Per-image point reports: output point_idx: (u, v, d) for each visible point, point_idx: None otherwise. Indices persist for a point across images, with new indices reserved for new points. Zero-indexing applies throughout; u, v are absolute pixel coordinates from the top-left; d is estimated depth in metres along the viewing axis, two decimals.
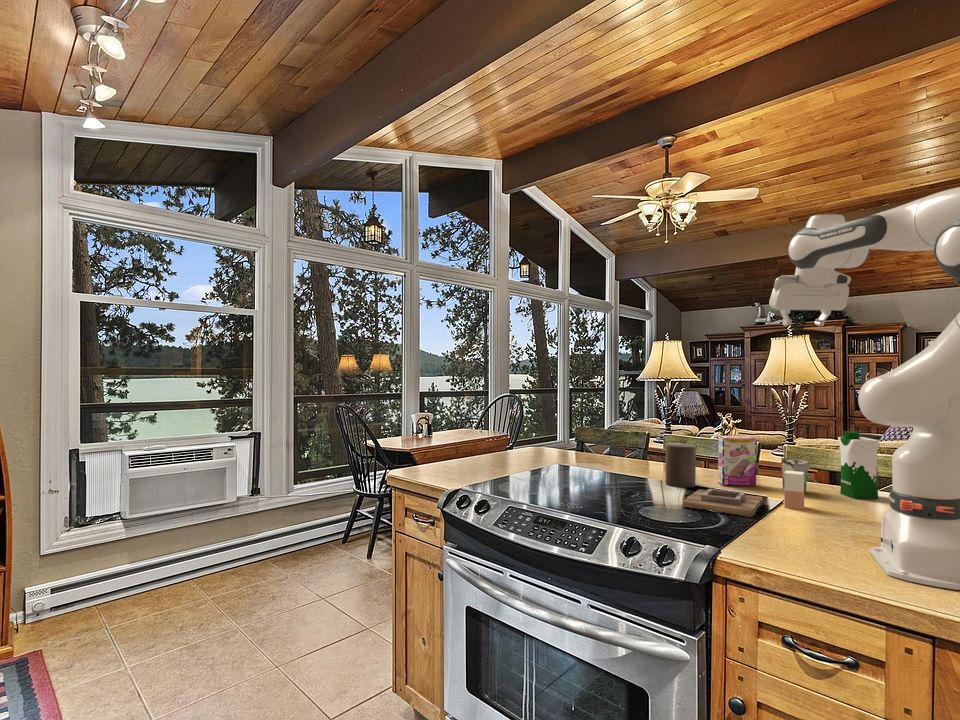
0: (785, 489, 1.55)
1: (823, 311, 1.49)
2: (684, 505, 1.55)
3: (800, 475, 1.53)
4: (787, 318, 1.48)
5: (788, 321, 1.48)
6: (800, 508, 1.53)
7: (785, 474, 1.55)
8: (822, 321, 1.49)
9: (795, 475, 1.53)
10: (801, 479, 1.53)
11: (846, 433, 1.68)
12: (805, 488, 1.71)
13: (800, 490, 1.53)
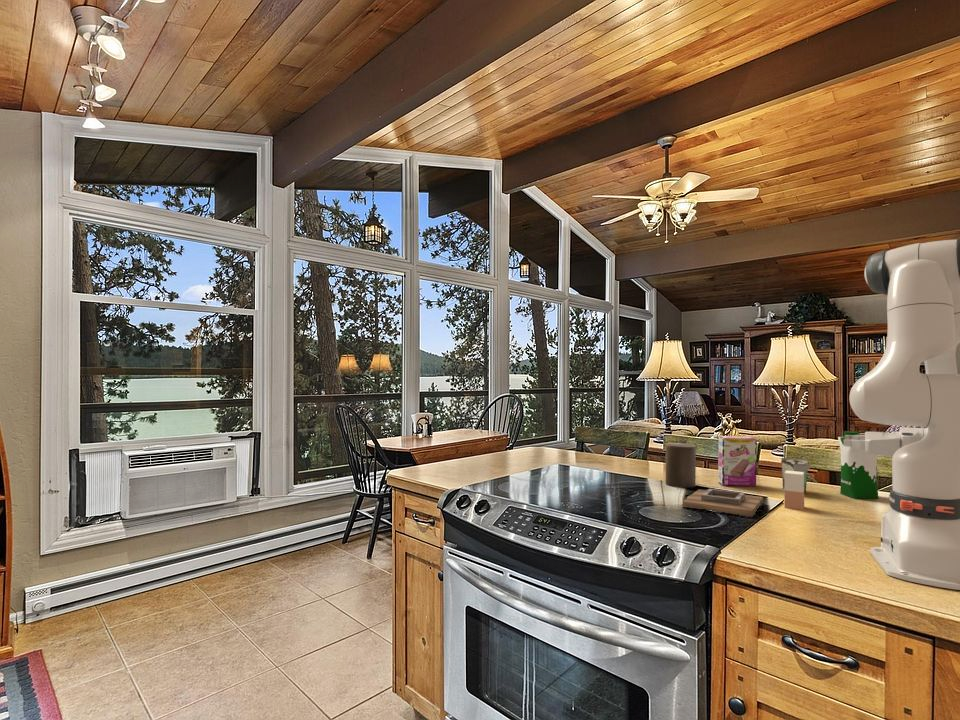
0: (785, 489, 1.55)
1: None
2: (684, 505, 1.55)
3: (800, 475, 1.53)
4: (853, 435, 1.52)
5: (850, 435, 1.52)
6: (800, 508, 1.53)
7: (785, 474, 1.55)
8: (849, 439, 1.44)
9: (795, 475, 1.53)
10: (801, 479, 1.53)
11: (846, 433, 1.68)
12: (805, 488, 1.71)
13: (800, 490, 1.53)
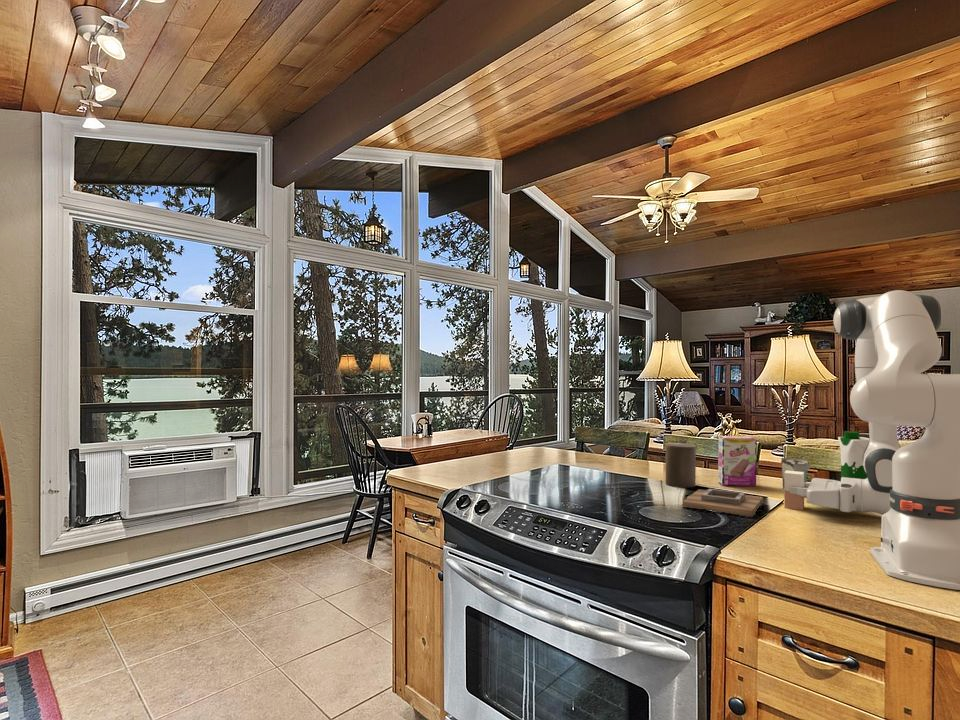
0: (785, 489, 1.55)
1: None
2: (684, 505, 1.55)
3: (800, 475, 1.53)
4: None
5: None
6: (800, 508, 1.53)
7: (785, 474, 1.55)
8: (795, 487, 1.53)
9: (795, 475, 1.53)
10: (801, 479, 1.53)
11: (846, 433, 1.68)
12: None
13: None
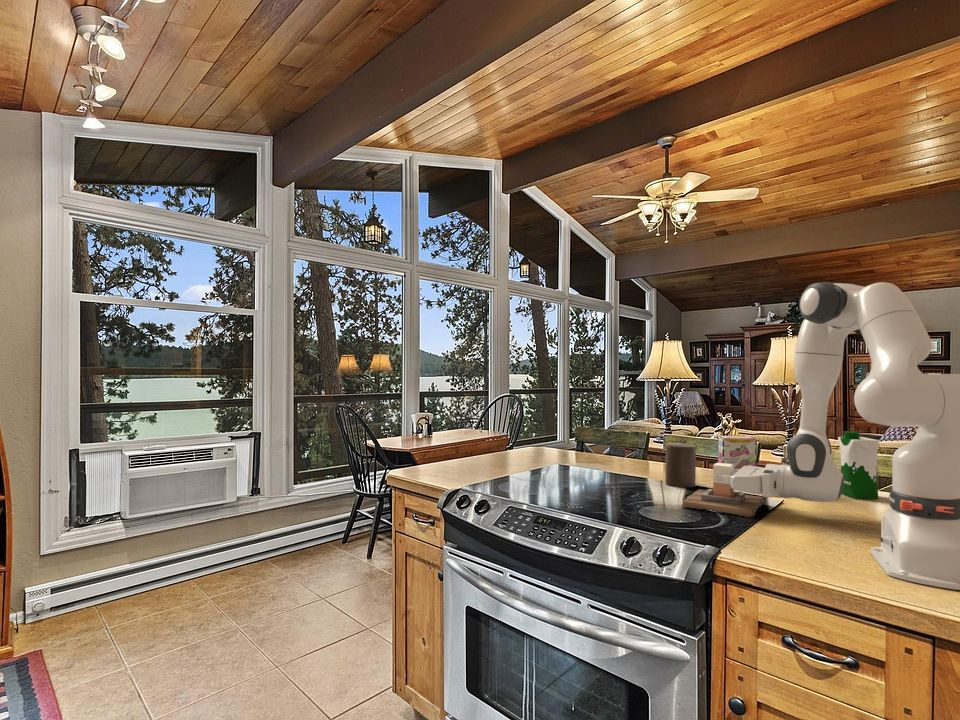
0: (714, 481, 1.57)
1: None
2: (684, 505, 1.55)
3: (728, 467, 1.55)
4: None
5: None
6: None
7: (714, 466, 1.57)
8: (721, 475, 1.53)
9: (723, 467, 1.55)
10: (729, 471, 1.54)
11: (846, 433, 1.68)
12: None
13: None
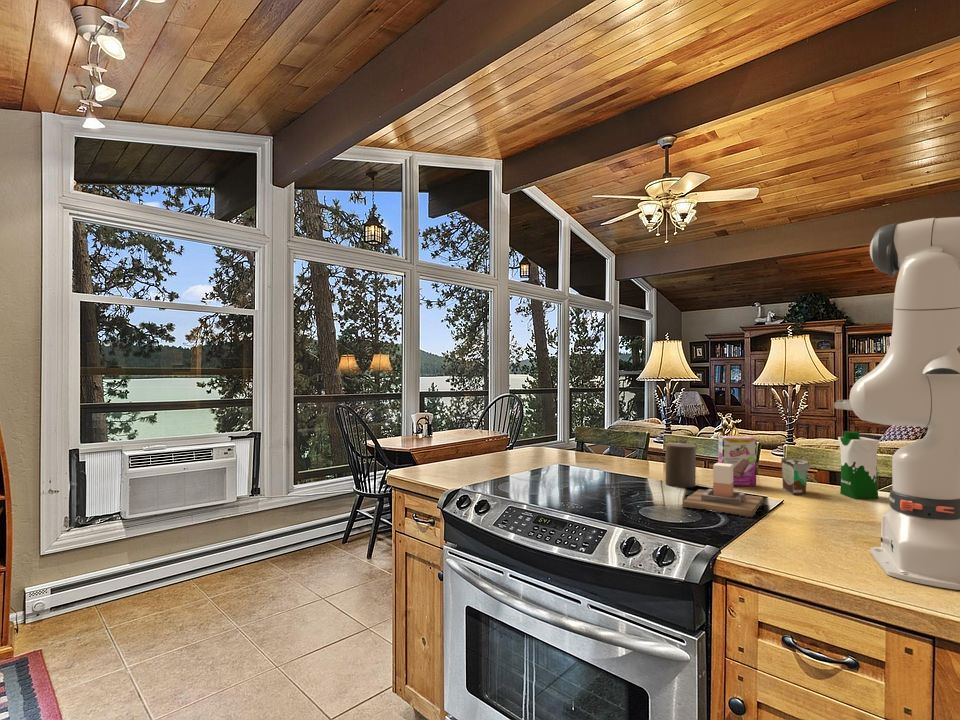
0: (714, 481, 1.57)
1: None
2: (684, 505, 1.55)
3: (728, 467, 1.55)
4: (845, 400, 1.53)
5: (841, 400, 1.53)
6: None
7: (714, 466, 1.57)
8: (840, 402, 1.45)
9: (723, 467, 1.55)
10: (729, 471, 1.54)
11: (846, 433, 1.68)
12: (805, 488, 1.71)
13: (728, 482, 1.54)
